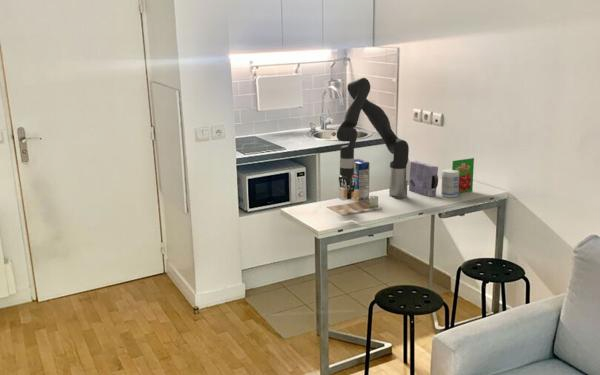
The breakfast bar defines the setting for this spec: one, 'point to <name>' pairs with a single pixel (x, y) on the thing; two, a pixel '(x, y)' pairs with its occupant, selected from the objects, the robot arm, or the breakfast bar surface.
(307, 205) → the breakfast bar surface
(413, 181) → the cake pan box
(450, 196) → the supplement tub
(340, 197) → the cream block
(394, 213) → the breakfast bar surface
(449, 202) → the breakfast bar surface
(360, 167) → the beverage box
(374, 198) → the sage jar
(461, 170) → the tomato puree packet
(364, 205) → the board
